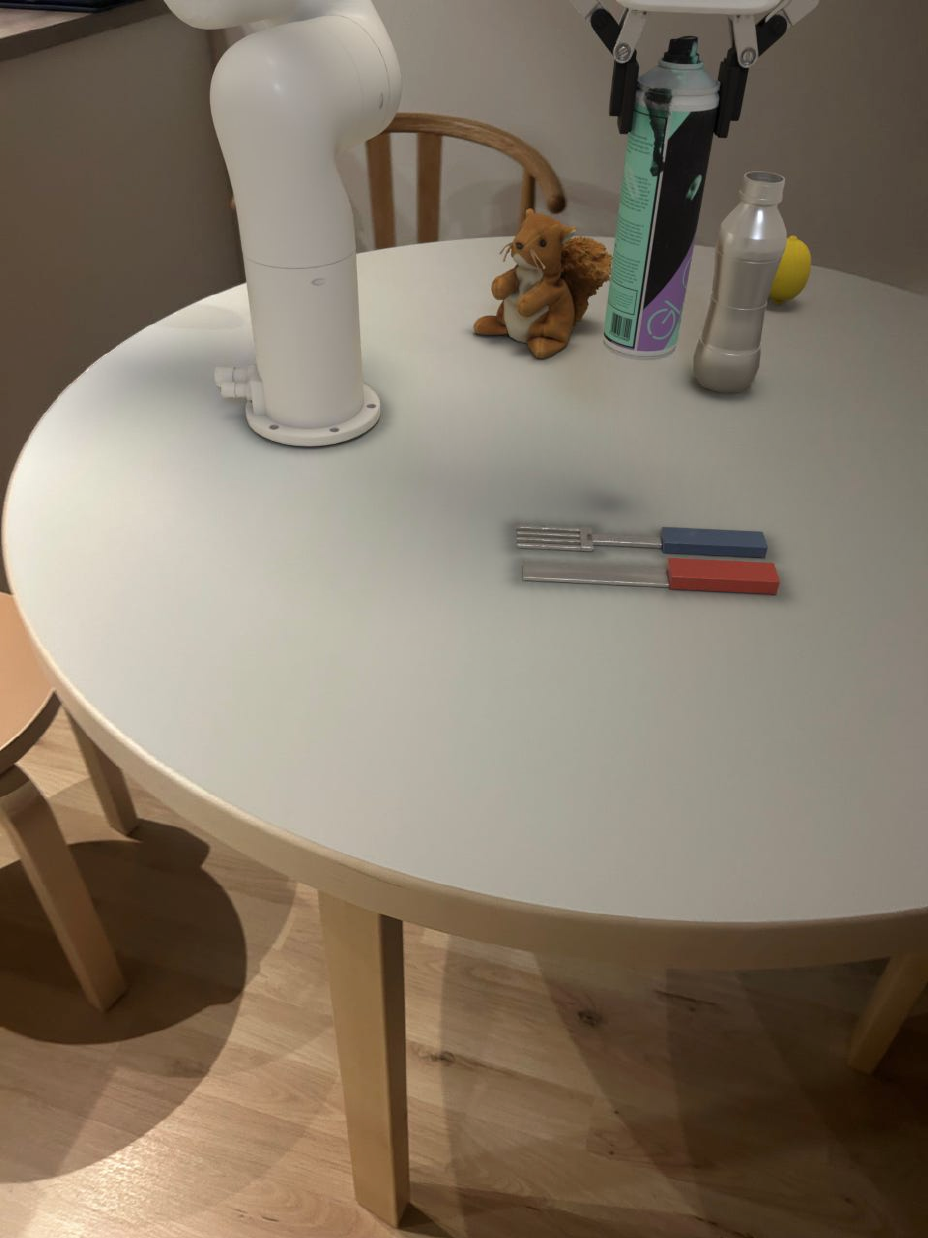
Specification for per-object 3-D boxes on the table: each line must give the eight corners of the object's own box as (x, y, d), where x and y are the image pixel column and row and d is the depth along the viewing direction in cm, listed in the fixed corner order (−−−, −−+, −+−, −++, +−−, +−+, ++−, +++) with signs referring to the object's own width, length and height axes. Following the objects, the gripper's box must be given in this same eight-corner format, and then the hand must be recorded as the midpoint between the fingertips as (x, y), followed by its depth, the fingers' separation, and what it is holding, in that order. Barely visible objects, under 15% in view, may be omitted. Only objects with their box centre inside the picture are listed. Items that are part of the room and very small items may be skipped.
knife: (522, 581, 72) (523, 569, 71) (523, 562, 74) (523, 550, 73) (776, 594, 72) (780, 581, 71) (770, 575, 73) (774, 562, 73)
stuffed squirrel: (466, 334, 106) (469, 210, 97) (556, 303, 113) (566, 185, 104) (529, 365, 100) (538, 237, 92) (619, 331, 107) (635, 208, 99)
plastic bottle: (707, 403, 94) (750, 190, 82) (677, 373, 99) (714, 168, 86) (765, 396, 96) (817, 186, 83) (733, 367, 101) (778, 164, 88)
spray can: (674, 364, 69) (730, 47, 56) (599, 355, 70) (637, 41, 57) (677, 333, 73) (730, 31, 61) (606, 326, 74) (643, 25, 61)
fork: (516, 548, 75) (517, 537, 75) (517, 527, 78) (517, 517, 77) (766, 560, 75) (768, 549, 74) (759, 539, 77) (762, 529, 76)
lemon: (745, 297, 115) (759, 229, 110) (785, 293, 117) (801, 225, 112) (769, 315, 111) (785, 246, 106) (810, 310, 113) (828, 242, 108)
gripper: (565, -251, 48) (539, 141, 60) (911, -242, 48) (816, 152, 59) (562, -245, 54) (539, 111, 65) (871, -237, 53) (791, 121, 65)
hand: (671, 127), depth 62 cm, fingers closed on spray can, 5 cm apart
